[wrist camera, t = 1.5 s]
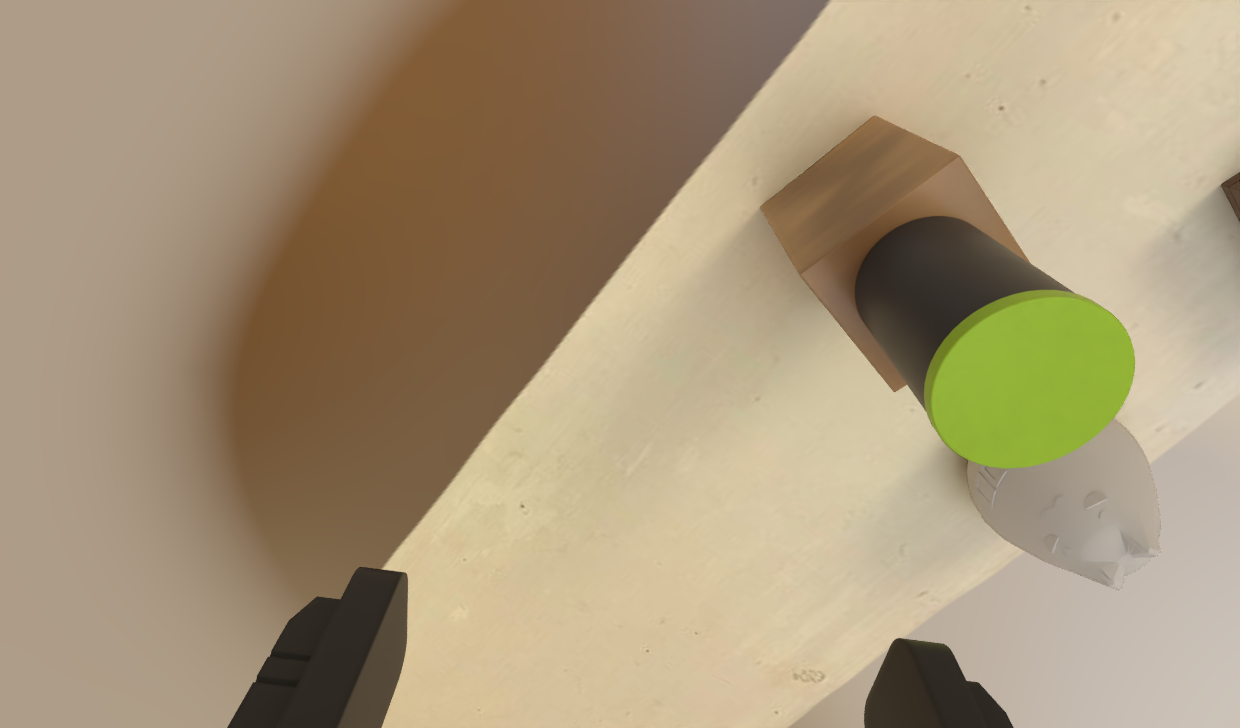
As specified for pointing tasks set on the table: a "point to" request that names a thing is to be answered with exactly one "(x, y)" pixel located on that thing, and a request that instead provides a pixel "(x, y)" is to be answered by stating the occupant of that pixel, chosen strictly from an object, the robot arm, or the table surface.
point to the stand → (872, 215)
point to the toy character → (1077, 507)
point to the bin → (1233, 193)
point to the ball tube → (992, 344)
